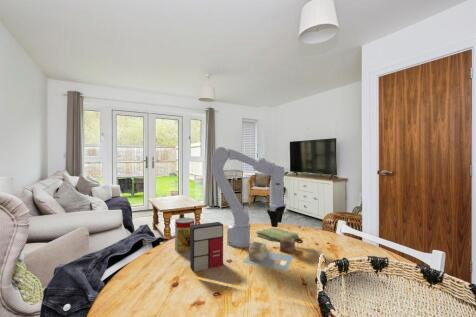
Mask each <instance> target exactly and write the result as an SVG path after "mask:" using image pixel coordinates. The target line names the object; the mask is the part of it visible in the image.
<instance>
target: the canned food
mask: <svg viewBox="0 0 476 317" xmlns="http://www.w3.org/2000/svg"><path fill="white" fill-rule="evenodd" d="M174 225H175V226H174V229H175V230H174V251H176V250H177V252H178V251H180V252H179V253H186V252H187V251H188V252H190V226H191V225H195V219H194V218H193V217H180V218H176V219H175V221H174ZM188 252H187V253H188Z"/></svg>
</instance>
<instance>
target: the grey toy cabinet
mask: <svg viewBox="0 0 476 317" xmlns="http://www.w3.org/2000/svg"><path fill="white" fill-rule="evenodd" d="M189 252H190V253H189V254H190V255H189V258H190V260H189V263H190V264H189V267H190V270H191V271H192V272H198V271H203V270H208V269H213V268H218V267H221V266H224V224H223V223H222V222H220V221H214V222H208V223H207V222H206V223H198V224H194V225H191V226H190V251H189Z"/></svg>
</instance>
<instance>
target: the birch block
mask: <svg viewBox="0 0 476 317" xmlns="http://www.w3.org/2000/svg"><path fill="white" fill-rule="evenodd" d="M266 252H267V243H263V242H258V241H252V243H250V245H249V246H248V256H249V260H253V261H259V262H263V260H264V259H265V258H266Z"/></svg>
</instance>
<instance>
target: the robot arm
mask: <svg viewBox="0 0 476 317" xmlns="http://www.w3.org/2000/svg"><path fill="white" fill-rule="evenodd" d="M228 160H229V161H233V160H234V161H236V160H237V161H238V162H241V163H245V164H247V165H249V166H252V167H253V170H254V171H256V172H258V173H261V174H263V175H265V176H270V182H269V209H267V210H266V213H267V214H268V217H269V220H270V224H271V228H277V227H278V224H279V223H282V221H283V217H284V216H283V215H284V211H285V210H286V207H287V203H284V178H285V175H286V172H285V170H284V168H283V167H282V166H281V165H278V164H276V162H270V161H268V160H266V158H264V157H262V158H261V157H258V158H256V159H255V158H253V157H251V156H249V155H246V154H244V153H242V152H240V151H237V150H234V149H230V148H227V149H226V148H225V147H224V146H223V147H222V146H218V147H216V148H215V149H214V151H213V153H212V155H211V165H210V173H211V175H212V177H213V178H214V180H215V182H216V184H217V185H218V187H219V190H220V191H221V193H222V196H223V197H224V199H225V202H227V204H228V206H229V208H230V211H231V214H232V216H233V220H234V223H231V224H229V225H228V227H227V229H226V230H227V231H226V234H227V236H226V241H227V243H226V245H227V246H232V247H236V248H249V246H250V245H251V235H250V234H251V224H250V217H249V212H248V210H247V209H246V208H244V206H243V205H242V203H241V202H240V200H239V198H238V197H237V195H236V193H235V191H234V189H233V187H232V186H231V184H230V182H229V181H228V178H227V176H226V174H225V173H224V171H223V170H224V167H225V164H226V162H228Z"/></svg>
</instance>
